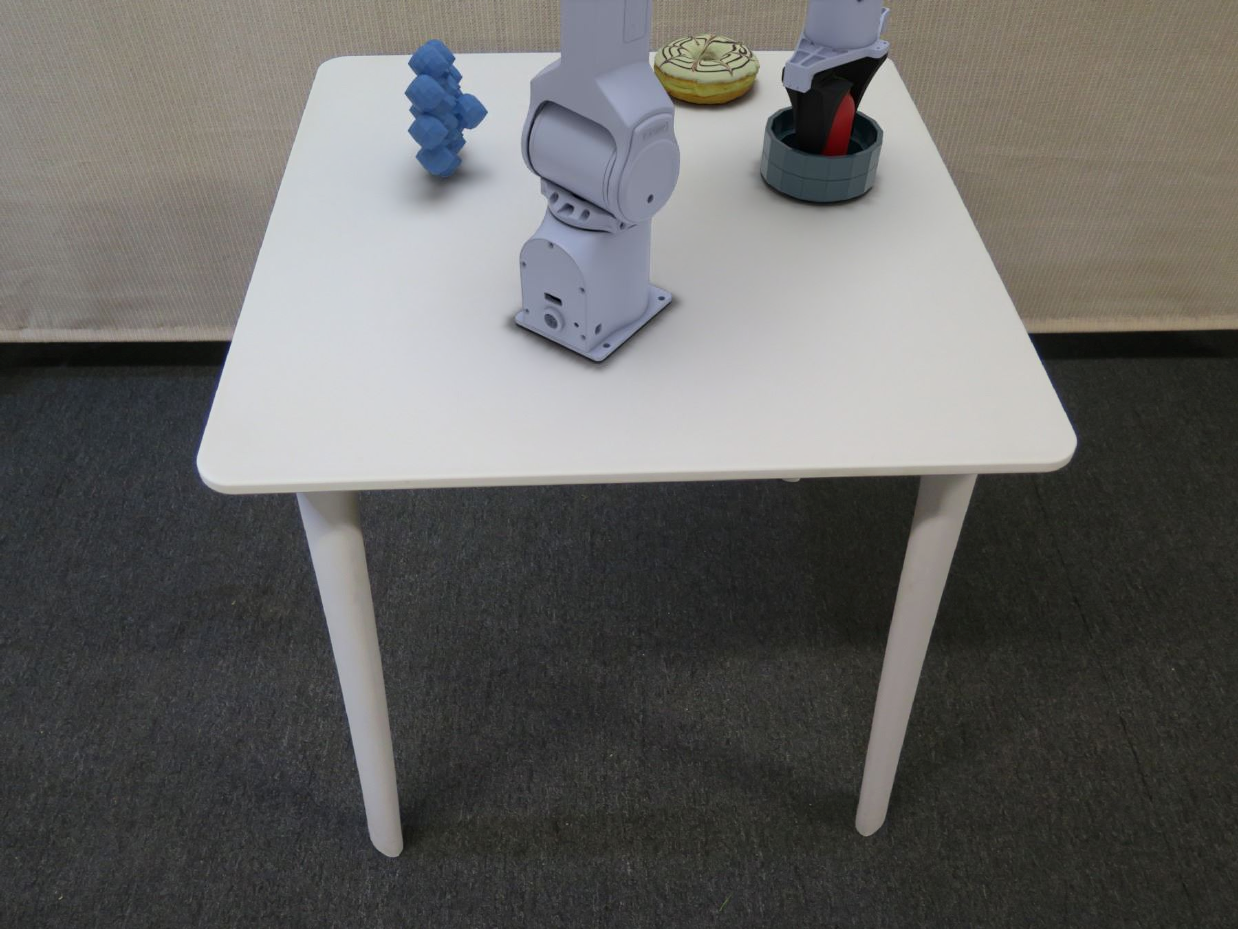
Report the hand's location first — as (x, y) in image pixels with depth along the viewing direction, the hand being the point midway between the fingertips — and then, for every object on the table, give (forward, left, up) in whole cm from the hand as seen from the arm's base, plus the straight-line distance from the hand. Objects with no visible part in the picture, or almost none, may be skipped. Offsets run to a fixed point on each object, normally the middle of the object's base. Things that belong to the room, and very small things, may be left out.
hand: (822, 140), depth 86 cm
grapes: (-19, +26, -4) cm, 32 cm away
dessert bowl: (0, 0, -3) cm, 3 cm away
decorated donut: (+9, +18, -4) cm, 20 cm away
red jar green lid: (0, 0, -1) cm, 1 cm away
